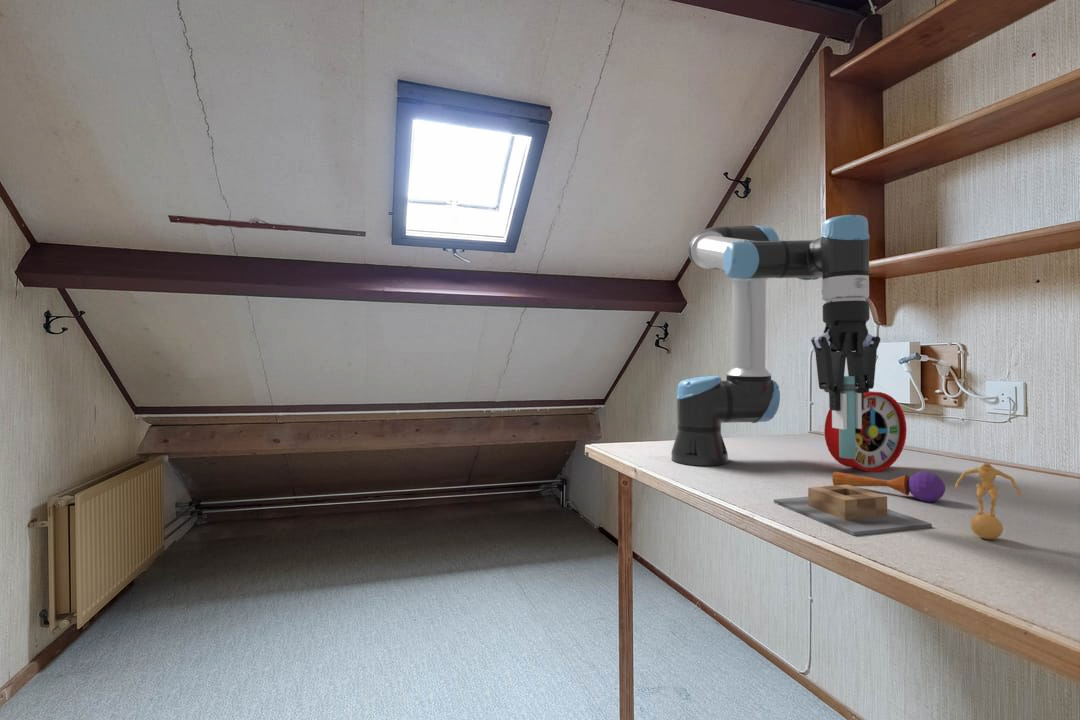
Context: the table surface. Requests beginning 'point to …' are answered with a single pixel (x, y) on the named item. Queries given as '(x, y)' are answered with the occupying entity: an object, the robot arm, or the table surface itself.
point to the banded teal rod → (848, 421)
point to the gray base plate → (851, 510)
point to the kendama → (900, 484)
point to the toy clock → (872, 434)
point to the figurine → (988, 523)
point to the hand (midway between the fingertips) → (846, 427)
